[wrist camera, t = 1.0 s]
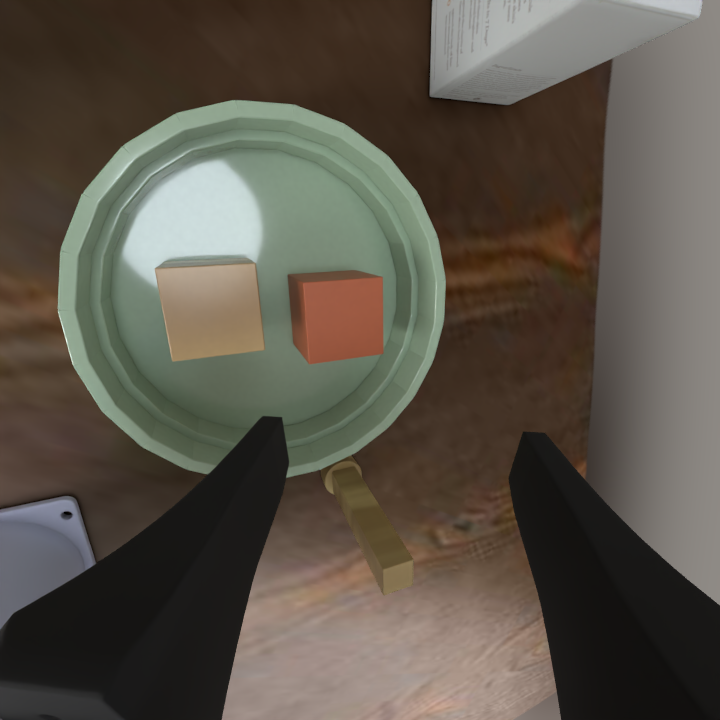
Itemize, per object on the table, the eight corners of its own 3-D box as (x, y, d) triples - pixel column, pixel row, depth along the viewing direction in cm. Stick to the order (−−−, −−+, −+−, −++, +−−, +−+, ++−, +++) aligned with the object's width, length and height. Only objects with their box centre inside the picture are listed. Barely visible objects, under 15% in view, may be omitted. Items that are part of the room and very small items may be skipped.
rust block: (357, 336, 24) (383, 354, 20) (293, 344, 23) (309, 364, 19) (355, 269, 23) (383, 276, 19) (287, 274, 22) (303, 282, 18)
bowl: (405, 411, 28) (439, 442, 24) (131, 465, 22) (114, 518, 18) (408, 137, 22) (453, 115, 18) (45, 118, 17) (-7, 80, 13)
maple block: (256, 331, 22) (265, 350, 18) (178, 339, 21) (172, 362, 17) (247, 257, 21) (256, 262, 17) (163, 261, 19) (154, 267, 16)
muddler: (356, 480, 28) (422, 589, 19) (321, 489, 27) (373, 607, 19) (355, 448, 27) (423, 548, 19) (319, 456, 26) (373, 564, 18)
